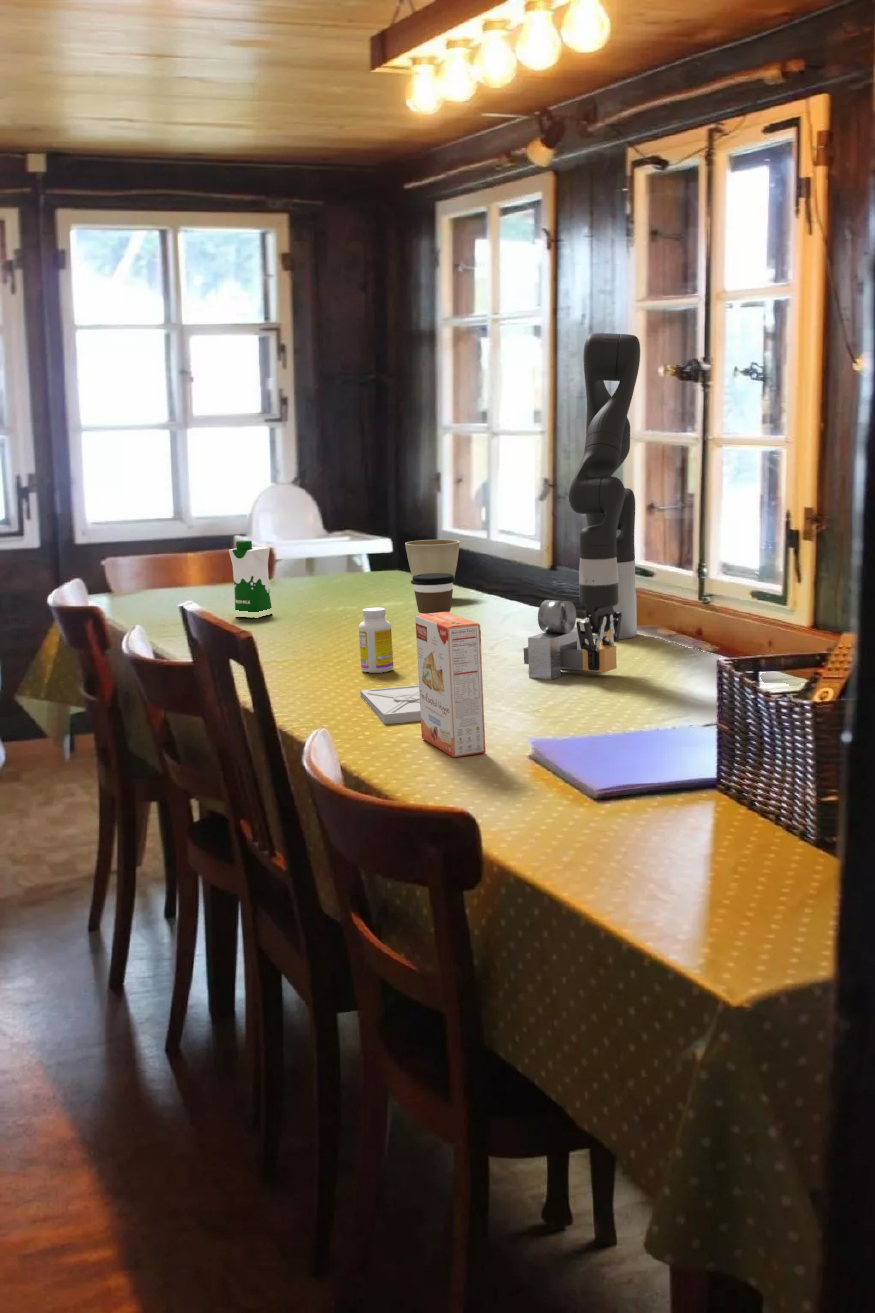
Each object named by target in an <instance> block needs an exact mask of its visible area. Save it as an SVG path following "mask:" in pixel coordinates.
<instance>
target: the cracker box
mask: <svg viewBox="0 0 875 1313" xmlns="http://www.w3.org/2000/svg"><path fill="white" fill-rule="evenodd" d="M481 632H482V631H481V624H480V623H478V622H475V621H472V620H470V619H467V618H464V617H461V616H459V615H456V614H454V613H451V612H450V613H448V612H439V613H426V614H419V613H418V614H416V615H415V634H416V635H415V636H416V649H417V650H416V651H417V652H416V653H417V671H418V685H419V695H420V713H421V721H420V729H421V739H423V740H425V741H426V742H427V743H429V744H431V745H433V747H436V748H438V749H439V750H440V751H443V752H444V753H446V754H447V755H449V756H450V757H451V758H460V757H467V756H473V755H480V754H485V753H486V736H485V734H486V732H485V710H484V708H485V707H484V706H485V705H484V688H483V687H484V683H483V681H484V680H483V660H482V657H483V656H482V638H481V635H482V634H481Z"/></svg>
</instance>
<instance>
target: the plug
mask: <svg viewBox="0 0 875 1313" xmlns="http://www.w3.org/2000/svg"><path fill="white" fill-rule="evenodd" d="M594 645H595V643H594ZM523 664H524V665H529V655H528V646H526V647H523ZM599 664H600V668H599V670H597V671H596V672H597V673H599V672H600V673H608V672H610V671H613V670H615V669H617V666H618V664H617V646H616V645H614V646H609V645H601V644H600V647H599ZM560 666H561V667H563V668H573V669H580V670H582V671H588V672H595V671H594V670H589V669H588V652H587V651H586V650H585V649H582V650H578V649H567V648H560Z"/></svg>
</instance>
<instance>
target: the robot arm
mask: <svg viewBox="0 0 875 1313" xmlns="http://www.w3.org/2000/svg"><path fill="white" fill-rule="evenodd" d="M640 362H641V344H640V339H639V338H638V337H637V336H636V335H634V334H626V333H609V332H608V333H607V332H606V333H605V332H596V333H591V334H589V335H588V337H587V338H586V339H585V341H584V346H583V372H584V383H585V396H586V422H585V423H586V424H585V425H586V426H585V427H586V428H585V429H586V430H585V434H586V436H585V443H584V452H583V456H582V459H581V462H580V464H579V467H578V469H577V471H576V474H575V475H574V477H573V479H572V481H571V484H570V487H569V491H568V503H569V506H570V508H571V509H572V511H574V513H576V514H578V515H579V514H580V515H585V518H586V522H587V526H586V527H583V528H582V529H581V530H580V532H579V564H578V565H579V566H578V589H579V591H578V594H579V605H580V606H582V607H584V608H585V612H584V618H583V619H582V620H576V622H575V626H576V627H577V631H578V636H579V641H580V647H581V649H585V650H586V651H587V652H588V669H589V670H594V671H593V672H597V670H599V668H600V664H599V647H600V645H609V646H615V643H618V642H619V640H623V639H630V638H634V637H636V636H637V633H638V621H637V618H638V617H637V612H638V610H637V592H636V554H635V553H636V552H635V550H636V549H635V525H636V498H635V494H634V491H633V489H632V488H627V487H625V486H624V482H622V481H621V479H620V478H618V477H617V476H614V475H613V474H615V473H616V471H617V470H618V469H620V468H621V466H622V464H623V463H624V462H625V460H626V459H627V458H628V455H629V453H630V449H631V423H630V421H629V420H630V419H629V418H628V415H629V409H630V408H631V407H630V406H631V403H632V398H633V396H634V392H635V387H636V384H637V379H638V374H639V368H640V364H641V363H640ZM604 381H606V382H609V381H610V382H618V385H617V388H616V390H615V391H614V393H613V394H612V395H611V394H610V392H609V391H608V389H607V388H606V385H605V382H604ZM618 531H620V533H619V535H617V533H618ZM585 639H586V643H585ZM594 644H595V645H594Z"/></svg>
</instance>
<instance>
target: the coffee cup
mask: <svg viewBox="0 0 875 1313" xmlns="http://www.w3.org/2000/svg"><path fill="white" fill-rule="evenodd" d="M411 577H412V576H411ZM456 580H457V579H456V578H455V576H454V575H452V574H448V573H428V574H419V575H415V576H413V577H412V579H411V580H410V584H412V585H413V588H414V591H413V592H414V596H415V603H416V608H417V612H418V615H419V614H426V613H439V612H448V613H451V609H452V608H451V607H452V600H453V591H454V589H453V585H454V584H455V582H457V581H456Z"/></svg>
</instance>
